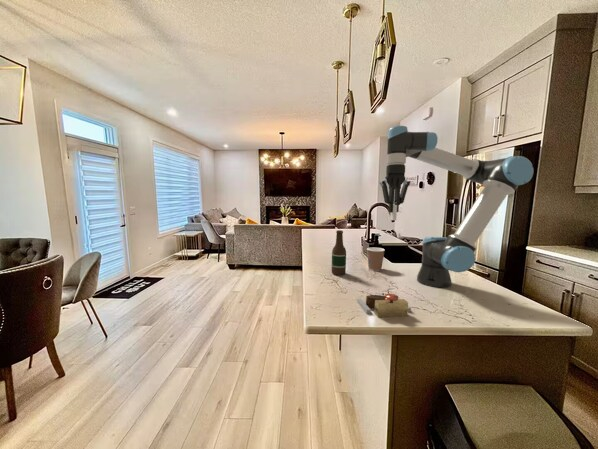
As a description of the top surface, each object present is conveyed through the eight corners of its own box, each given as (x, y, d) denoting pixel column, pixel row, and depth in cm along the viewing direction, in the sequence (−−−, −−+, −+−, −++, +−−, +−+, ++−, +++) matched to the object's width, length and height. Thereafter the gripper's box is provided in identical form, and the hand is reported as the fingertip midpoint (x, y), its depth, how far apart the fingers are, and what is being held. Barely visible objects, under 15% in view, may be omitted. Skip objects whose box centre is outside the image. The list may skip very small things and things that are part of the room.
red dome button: (402, 311, 93) (403, 293, 92) (408, 316, 88) (409, 297, 88) (373, 312, 91) (374, 294, 91) (378, 318, 87) (379, 299, 86)
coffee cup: (368, 265, 155) (369, 246, 153) (385, 268, 149) (386, 248, 148) (363, 269, 146) (364, 249, 145) (381, 272, 141) (382, 251, 139)
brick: (394, 308, 95) (395, 296, 95) (395, 313, 92) (395, 300, 91) (366, 304, 99) (366, 293, 98) (365, 308, 95) (365, 296, 95)
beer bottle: (345, 276, 134) (346, 231, 131) (330, 275, 135) (332, 231, 132) (345, 271, 141) (347, 229, 139) (331, 271, 143) (332, 229, 140)
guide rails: (397, 300, 102) (397, 297, 102) (410, 311, 92) (411, 307, 92) (357, 302, 100) (357, 298, 100) (366, 313, 90) (366, 309, 90)
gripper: (405, 166, 110) (402, 219, 113) (377, 165, 109) (375, 219, 112) (415, 164, 103) (412, 220, 106) (385, 163, 102) (382, 220, 104)
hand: (393, 219), depth 109 cm, fingers closed
